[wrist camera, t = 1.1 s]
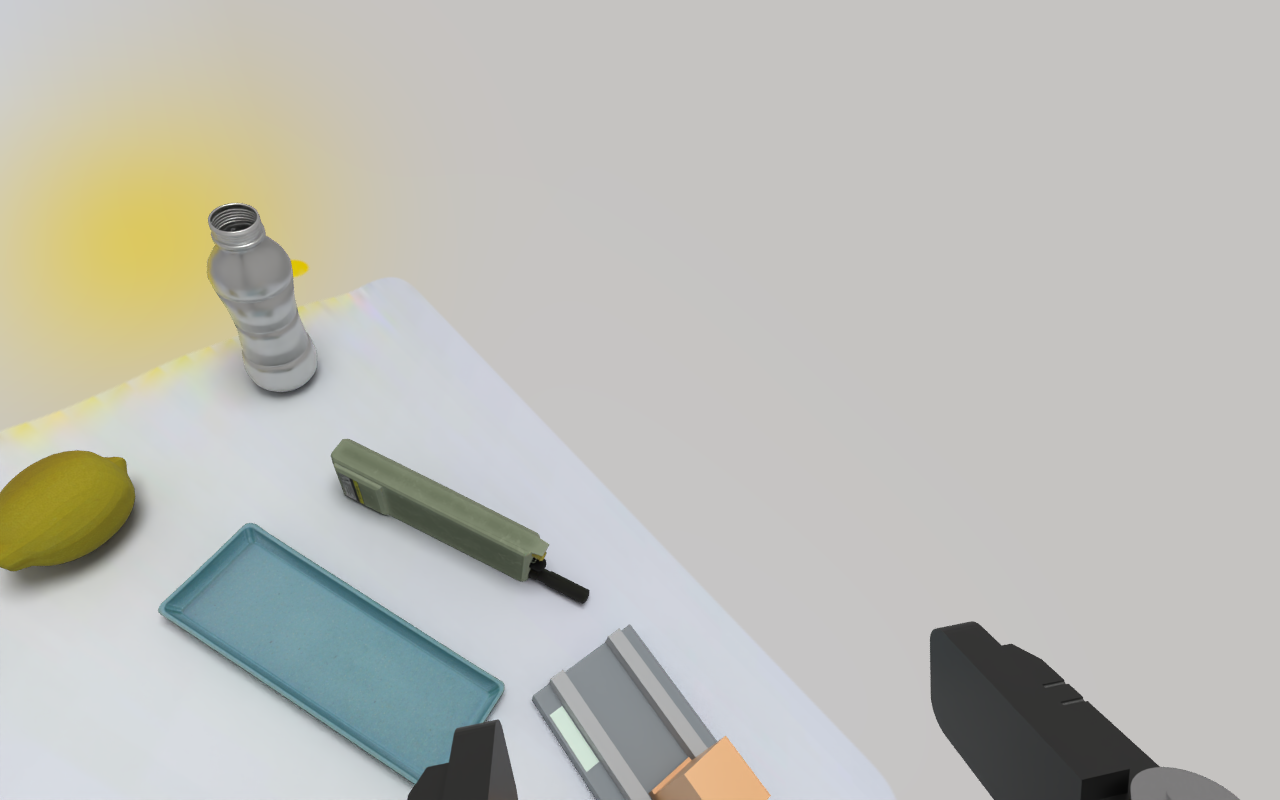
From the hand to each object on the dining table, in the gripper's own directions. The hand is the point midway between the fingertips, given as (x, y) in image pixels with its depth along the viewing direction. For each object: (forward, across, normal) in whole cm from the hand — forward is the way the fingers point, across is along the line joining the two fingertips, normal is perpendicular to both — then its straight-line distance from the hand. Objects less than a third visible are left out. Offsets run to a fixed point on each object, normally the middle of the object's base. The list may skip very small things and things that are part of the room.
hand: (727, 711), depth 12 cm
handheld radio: (+49, -14, -19) cm, 55 cm away
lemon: (+48, -44, -12) cm, 66 cm away
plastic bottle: (+62, -31, -4) cm, 69 cm away
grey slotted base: (+35, -1, -34) cm, 49 cm away
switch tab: (+31, +1, -35) cm, 47 cm away
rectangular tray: (+41, -24, -23) cm, 53 cm away
